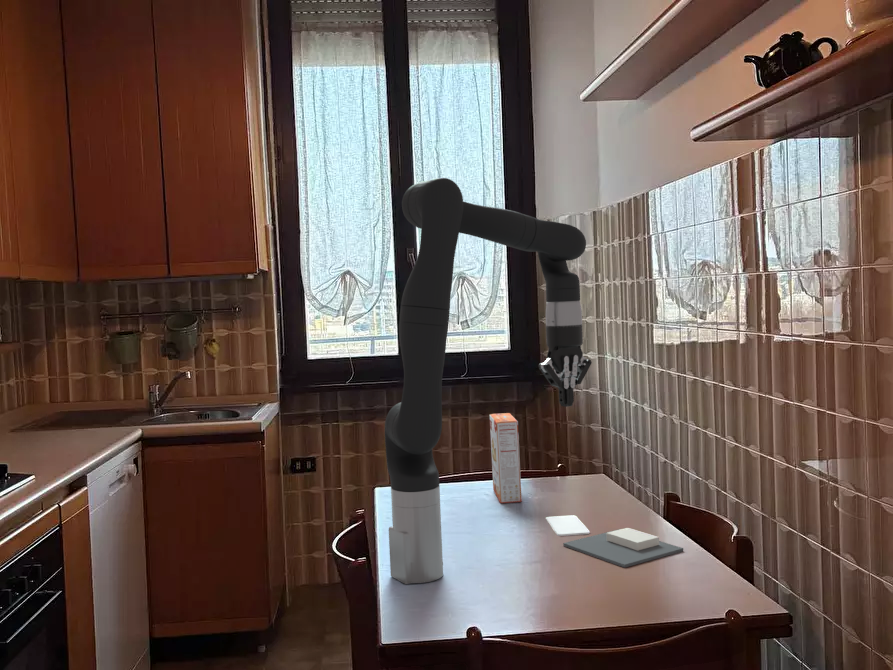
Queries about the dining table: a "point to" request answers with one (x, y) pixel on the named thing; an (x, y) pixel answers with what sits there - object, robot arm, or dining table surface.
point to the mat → (620, 550)
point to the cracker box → (505, 457)
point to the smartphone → (567, 525)
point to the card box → (632, 538)
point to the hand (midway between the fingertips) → (566, 405)
